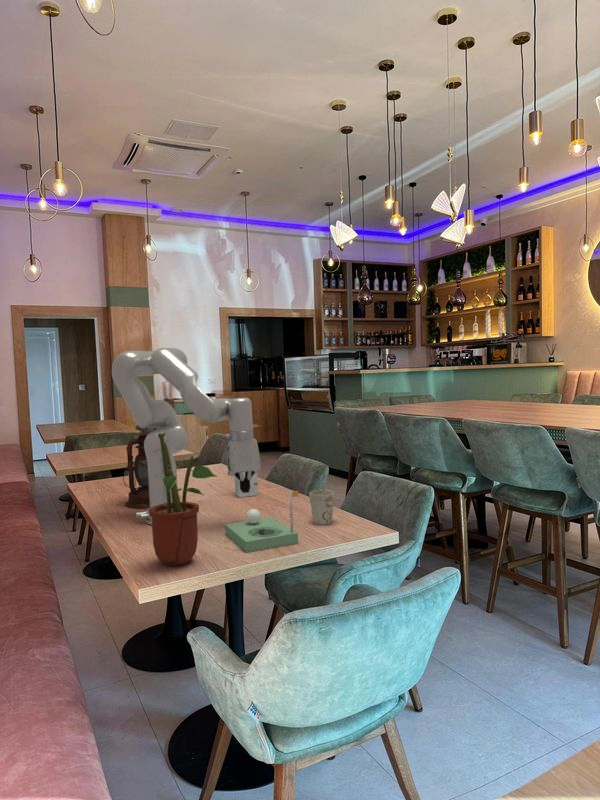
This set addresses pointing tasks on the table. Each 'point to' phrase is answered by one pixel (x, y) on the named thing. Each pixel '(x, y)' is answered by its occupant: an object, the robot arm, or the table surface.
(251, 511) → the ball
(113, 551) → the table surface
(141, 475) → the lantern
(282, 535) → the putting mat
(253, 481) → the skincare box
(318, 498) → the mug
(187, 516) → the potted plant
